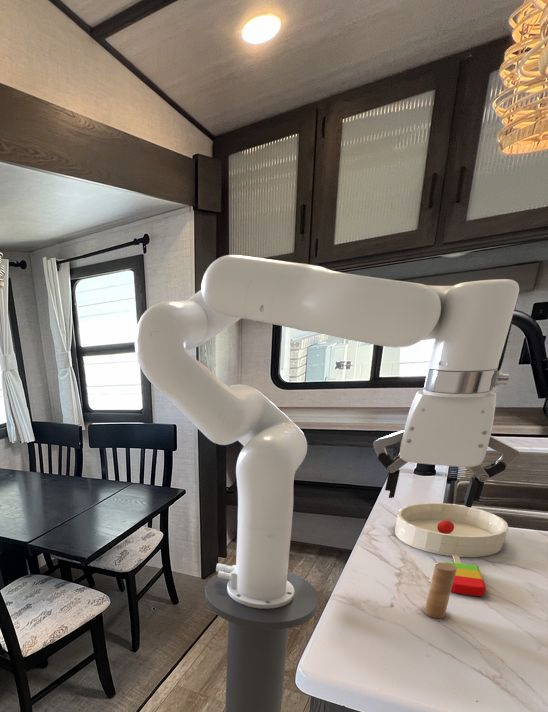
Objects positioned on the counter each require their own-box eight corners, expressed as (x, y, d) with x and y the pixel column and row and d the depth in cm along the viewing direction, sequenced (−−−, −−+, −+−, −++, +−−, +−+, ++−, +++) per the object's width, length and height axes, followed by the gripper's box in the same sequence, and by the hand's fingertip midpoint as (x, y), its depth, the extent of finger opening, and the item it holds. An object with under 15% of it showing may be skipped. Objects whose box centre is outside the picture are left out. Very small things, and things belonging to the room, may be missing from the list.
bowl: (391, 547, 100) (395, 528, 99) (397, 516, 115) (400, 499, 113) (506, 564, 90) (513, 543, 88) (497, 527, 105) (503, 509, 103)
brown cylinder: (424, 615, 78) (435, 568, 74) (424, 607, 80) (435, 561, 76) (444, 620, 76) (457, 572, 73) (444, 611, 79) (456, 564, 75)
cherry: (439, 516, 103) (431, 528, 103) (453, 519, 100) (446, 531, 100) (445, 522, 104) (438, 534, 104) (459, 526, 102) (452, 537, 102)
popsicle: (446, 592, 83) (449, 583, 83) (437, 556, 95) (439, 548, 95) (485, 598, 81) (488, 589, 80) (471, 560, 93) (473, 552, 92)
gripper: (537, 379, 62) (498, 499, 69) (387, 378, 71) (366, 485, 78) (547, 387, 56) (504, 517, 64) (383, 385, 65) (361, 499, 72)
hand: (428, 499), depth 71 cm, fingers open, 9 cm apart
